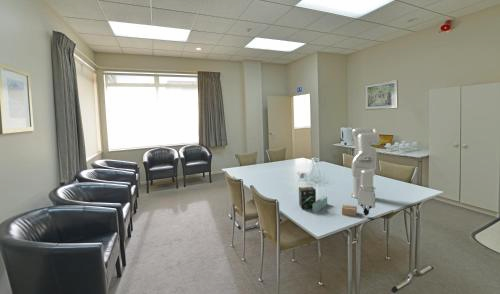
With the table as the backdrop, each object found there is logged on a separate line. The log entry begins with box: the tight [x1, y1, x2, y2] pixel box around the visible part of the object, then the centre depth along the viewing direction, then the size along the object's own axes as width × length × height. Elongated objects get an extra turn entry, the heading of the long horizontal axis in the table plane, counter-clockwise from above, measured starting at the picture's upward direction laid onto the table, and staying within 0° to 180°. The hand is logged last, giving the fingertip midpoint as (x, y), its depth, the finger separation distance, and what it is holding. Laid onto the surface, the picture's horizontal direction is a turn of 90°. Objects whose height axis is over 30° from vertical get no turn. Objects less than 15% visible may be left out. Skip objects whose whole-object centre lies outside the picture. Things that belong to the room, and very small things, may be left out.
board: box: [312, 195, 328, 214], centre depth 181 cm, size 20×3×6 cm, turn 141°
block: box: [341, 204, 358, 217], centre depth 169 cm, size 7×9×5 cm
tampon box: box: [298, 186, 317, 210], centre depth 184 cm, size 11×9×15 cm
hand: (366, 214), depth 162 cm, fingers closed
